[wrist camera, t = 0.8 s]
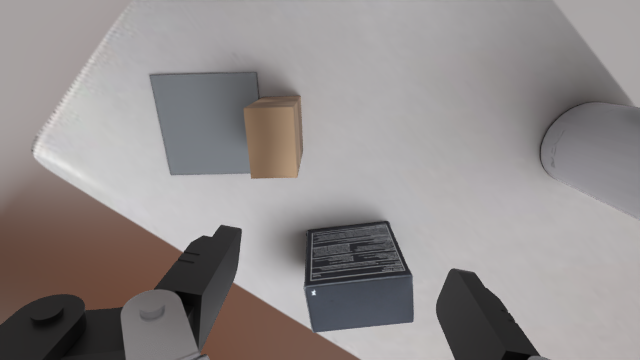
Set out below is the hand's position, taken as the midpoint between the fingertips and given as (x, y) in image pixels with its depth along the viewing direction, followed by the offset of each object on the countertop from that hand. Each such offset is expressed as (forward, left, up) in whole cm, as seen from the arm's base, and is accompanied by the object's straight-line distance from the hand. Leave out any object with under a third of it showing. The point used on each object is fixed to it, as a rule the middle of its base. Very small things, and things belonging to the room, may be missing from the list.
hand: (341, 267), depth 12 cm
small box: (-3, +15, -24) cm, 29 cm away
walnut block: (+5, -1, -24) cm, 25 cm away
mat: (+13, -1, -24) cm, 27 cm away
